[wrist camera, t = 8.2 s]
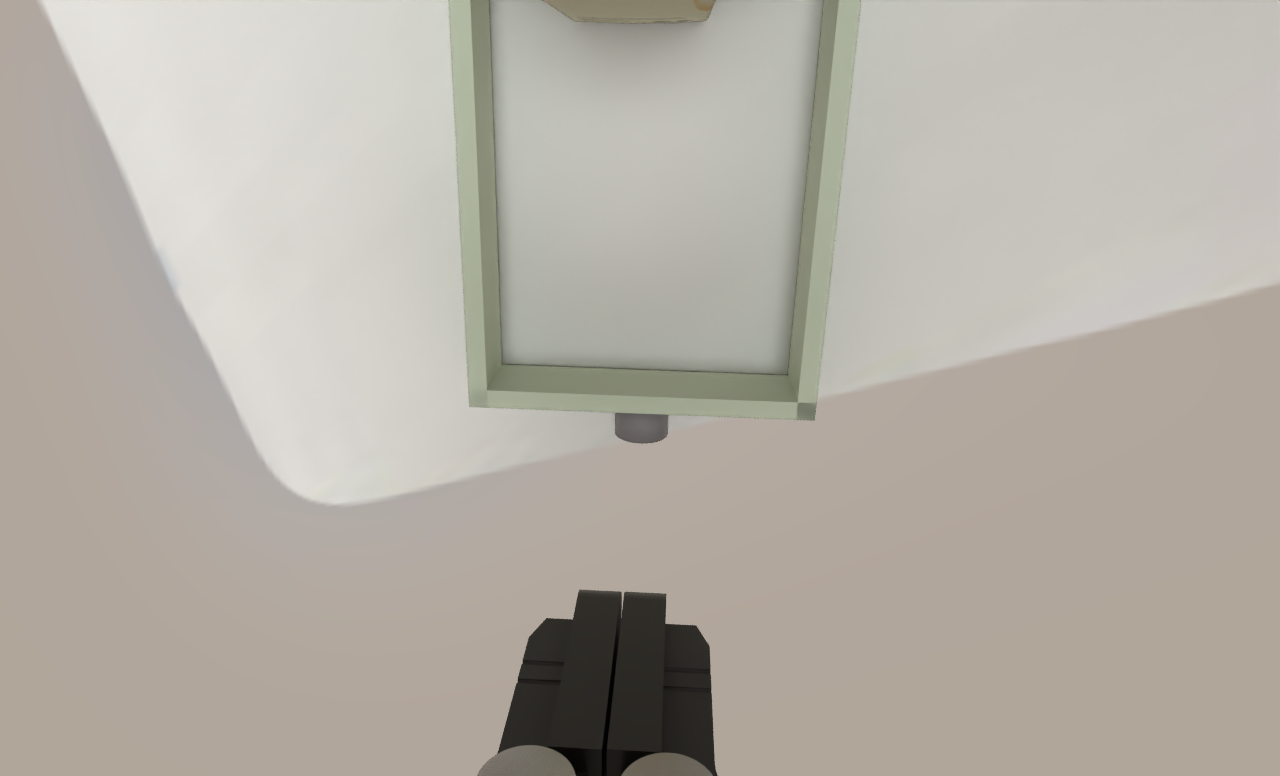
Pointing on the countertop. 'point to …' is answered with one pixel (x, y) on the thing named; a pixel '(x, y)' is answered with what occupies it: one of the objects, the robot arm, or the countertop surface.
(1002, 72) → the countertop surface
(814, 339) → the sliding drawer
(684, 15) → the skincare box
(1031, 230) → the countertop surface
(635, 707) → the robot arm
